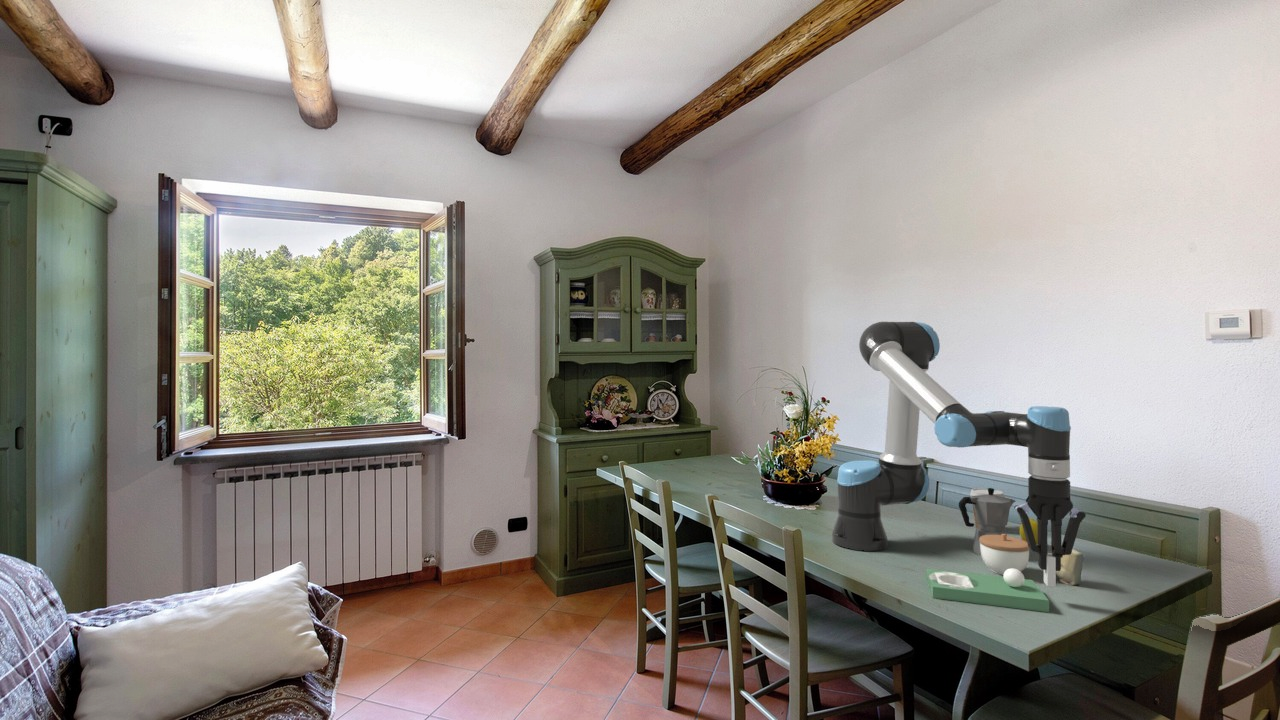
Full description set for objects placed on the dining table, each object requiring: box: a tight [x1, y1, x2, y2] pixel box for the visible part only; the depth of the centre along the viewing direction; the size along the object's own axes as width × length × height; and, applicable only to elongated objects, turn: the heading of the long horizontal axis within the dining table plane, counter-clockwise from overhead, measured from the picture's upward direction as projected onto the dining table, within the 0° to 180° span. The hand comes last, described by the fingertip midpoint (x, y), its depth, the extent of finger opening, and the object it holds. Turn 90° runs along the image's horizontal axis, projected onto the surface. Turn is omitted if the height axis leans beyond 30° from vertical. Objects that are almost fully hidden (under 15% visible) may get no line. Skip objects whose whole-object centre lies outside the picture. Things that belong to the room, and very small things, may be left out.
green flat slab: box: [925, 568, 1050, 613], centre depth 130 cm, size 22×12×2 cm, turn 70°
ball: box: [1002, 568, 1026, 587], centre depth 128 cm, size 4×4×4 cm
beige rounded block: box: [1056, 548, 1085, 587], centre depth 137 cm, size 6×5×8 cm
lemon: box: [1019, 517, 1038, 545], centre depth 164 cm, size 6×6×8 cm
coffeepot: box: [958, 487, 1016, 556], centre depth 158 cm, size 15×9×18 cm, turn 90°
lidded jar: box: [979, 534, 1031, 576], centre depth 144 cm, size 11×11×9 cm
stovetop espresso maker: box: [969, 487, 1006, 529], centre depth 181 cm, size 10×10×12 cm
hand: (1049, 584), depth 126 cm, fingers closed
